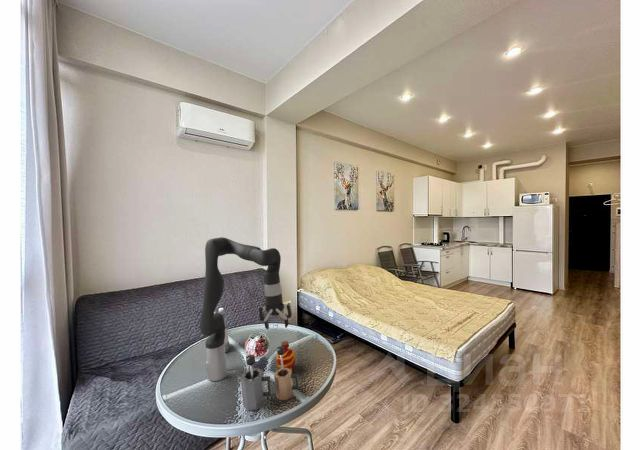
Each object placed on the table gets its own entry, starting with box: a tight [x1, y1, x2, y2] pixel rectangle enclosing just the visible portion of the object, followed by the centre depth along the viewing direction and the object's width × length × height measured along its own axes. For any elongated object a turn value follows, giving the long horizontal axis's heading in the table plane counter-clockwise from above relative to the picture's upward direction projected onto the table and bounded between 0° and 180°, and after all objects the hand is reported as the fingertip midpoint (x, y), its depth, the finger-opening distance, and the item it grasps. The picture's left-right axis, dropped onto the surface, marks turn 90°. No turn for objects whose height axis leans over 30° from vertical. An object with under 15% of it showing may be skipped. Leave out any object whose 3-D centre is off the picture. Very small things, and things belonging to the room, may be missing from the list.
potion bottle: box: [276, 340, 296, 372], centre depth 136 cm, size 10×10×15 cm
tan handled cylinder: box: [273, 368, 300, 401], centre depth 118 cm, size 10×8×10 cm
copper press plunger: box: [276, 345, 285, 376], centre depth 118 cm, size 3×3×15 cm
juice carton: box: [214, 307, 230, 353], centre depth 162 cm, size 9×10×27 cm
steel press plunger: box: [245, 354, 256, 379], centre depth 114 cm, size 4×4×19 cm
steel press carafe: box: [240, 367, 273, 412], centre depth 114 cm, size 12×9×13 cm
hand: (277, 327), depth 116 cm, fingers open, 8 cm apart
